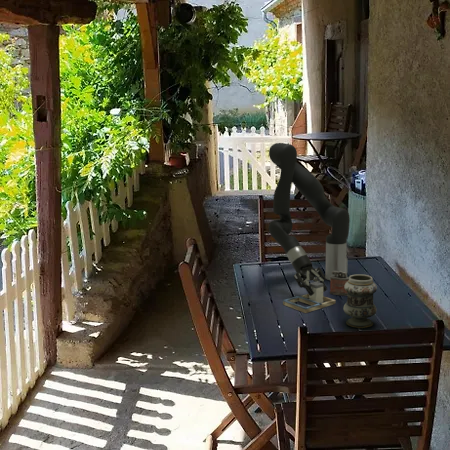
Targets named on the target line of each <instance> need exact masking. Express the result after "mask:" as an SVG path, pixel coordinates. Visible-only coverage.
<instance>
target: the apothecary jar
mask: <svg viewBox="0 0 450 450" xmlns="http://www.w3.org/2000/svg"><path fill="white" fill-rule="evenodd" d="M348 277H349V280H348V282H346V283H345V286H344V288H345V290H346V291H347V295H346V297H347V300H346V302H345V304H344V305H343V307H342V308H343V312H344V313H345V314H346V315H347V316H349V317H351V318H348V319H346V325H348V326H350V327H352V328H357V329H366V328H370V327H372V326H373V325H374V322H373V320H371V319H370V318H371V317H373V316H374V315H375V314H376V313H377V310H378V309H377V307H376V304H374V293H376V292H377V290H378V286H377V284H376V283H375V282H374V280H373V277H372V276H371V275H368V274H363V273H362V274H352V275H351V274H350V275H349V276H348Z"/></svg>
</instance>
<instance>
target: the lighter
mask: <svg viewBox="0 0 450 450" xmlns="http://www.w3.org/2000/svg"><path fill="white" fill-rule="evenodd" d="M332 274H334V275H335V276H330V279H331V280H329V281H330V285H329V286H330V287H329V289H330V290H329V294H330V295H334V296H335V295H336V296H347V291H346V290H345V288H344V286H345V283H346V282H348V280H349V277H350V276H347V277H346V272H342V271H340V272H338V271H332ZM337 275H338V276H337ZM343 275H344V276H343Z"/></svg>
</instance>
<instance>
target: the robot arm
mask: <svg viewBox="0 0 450 450" xmlns="http://www.w3.org/2000/svg"><path fill="white" fill-rule="evenodd" d="M268 155H269V159H270V161H271V162H272V163H273V164H274V165H275V166H276V167H277V168H279V169H280V173H279V174H280V175H279V179H278V182H277V184H276V187H275V189H274V193H273V201H272V202H273V203H272V204H273V206H272V207H273V209H272V210H273V213H274V214H275V215H278V216H279V219H276V220H275V219H274V220H272V221H270V223H269V224H268V232H269V234H270V236H271V237H272V239H274V240H275V241H276V243H277V244H278V245H280V246H281V247H282V249H283V251H284V253H285V254H286V256H287V259H288V260H289V262H290V263H291V265H292V268H293V269H294V270H295V274H294V275H293V279H294V280H295V282H296V284H297V285H298V286H299V289H302V288H303V289H305V291H306V293H307V294H309V295H310V296H312V295H313V294H314V292H313V290H312V288H311V286H309V283H310V281H313V282H320V283H323V293H325V292H326V291H327V290H328V287H327V285H326V283H325V280H327V281H331V279H330V276H335V275H334V274H332V271H338V272H340V271H342V272H346V277H348V262H349V261H348V260H349V259H348V257H347V242H348V241H347V239H348V237H349V231H350V222H351V221H350V214H349V211H348V210H347V209H344V208H342V207H339V206H335V205H333V203H331V202H330V201H329V199H327V197H326V195H325V194H326V193H325V190H324V186H323V184H322V183H321V181H320V180H318V178H317V177H316V176H315V175H314V174H313V173H312V172H310V170H308V169H306V168H305V167H304V166H302V165H301V164H300V163H298V162H297V158H298V151H297V149H296V147H295V145H293V144H291V143H284V142H277V143H273V144H272V145H271V146H270V147H269V150H268ZM292 184H293V185H294V186H295V187H296V189H297V190H298V191H299V193H300V194H301V195H302V196H303V197H304V198H305V199H306V201H307V202H308V203H309V204H310V205H311V206H312V207H313V208H314V209H315V211H316V212H317V214H318V215H319V216H320V218H321V220H322V221H323V223H324V224H325V225H326V226H329V227H331V228H332V231H331V234H328V235H326V237H325V274H324V272H323V270H322V268H321V267H319V266H318V267H317V268H314V267H313V262H312V260H311V259H310V257H309V255H308V254H307V252H306V251H305V249H304V248H303V247H302V246H301V244H300V242H299V240H298V238H297V237H296V236H294V235H290V234H291V233H292V230H293V221H292V220H293V219H292V216H291V211H290V210H291V209H290V208H291V192H292V190H291V189H292ZM337 276H338V275H337ZM343 276H344V275H343Z"/></svg>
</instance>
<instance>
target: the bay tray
mask: <svg viewBox="0 0 450 450" xmlns="http://www.w3.org/2000/svg"><path fill="white" fill-rule="evenodd" d="M297 302H300V303H304V304H306V305H309V306H306V307H305V306H303V305H301V304H298V303H297ZM282 305H283V306H286V307H288V308H290V309H294V310H296V311H298V312H302V313H304V314H308V313H310V312H313V311H317V310H320V309H324V308H326V307H329V306H333V305H336V299H333V298H330V297H327V296H325V295H323V303H319V302H316V301H313V300H310V299H309V294H308V293H305V294H302V295H296V296H293V297H290V298H289V297H288V298H286V299H283V300H282Z"/></svg>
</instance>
